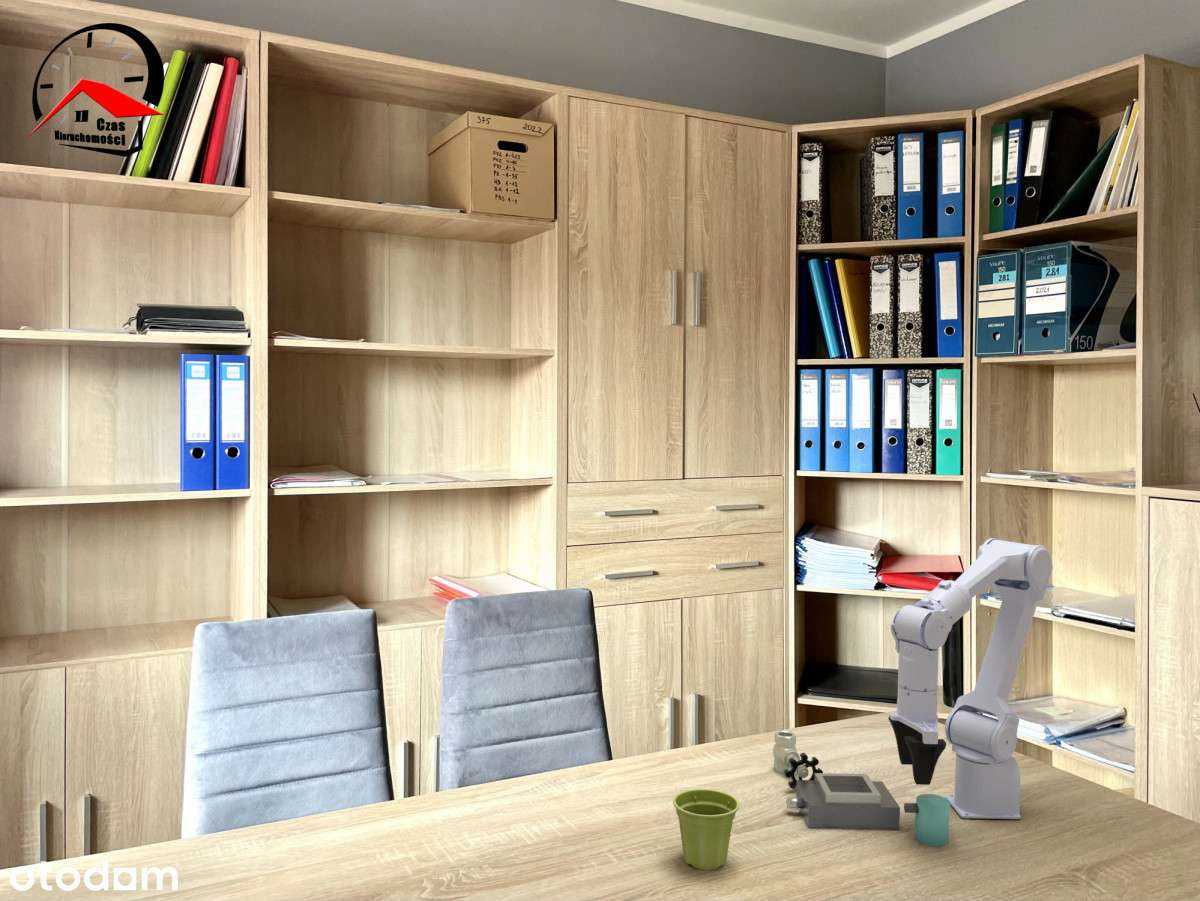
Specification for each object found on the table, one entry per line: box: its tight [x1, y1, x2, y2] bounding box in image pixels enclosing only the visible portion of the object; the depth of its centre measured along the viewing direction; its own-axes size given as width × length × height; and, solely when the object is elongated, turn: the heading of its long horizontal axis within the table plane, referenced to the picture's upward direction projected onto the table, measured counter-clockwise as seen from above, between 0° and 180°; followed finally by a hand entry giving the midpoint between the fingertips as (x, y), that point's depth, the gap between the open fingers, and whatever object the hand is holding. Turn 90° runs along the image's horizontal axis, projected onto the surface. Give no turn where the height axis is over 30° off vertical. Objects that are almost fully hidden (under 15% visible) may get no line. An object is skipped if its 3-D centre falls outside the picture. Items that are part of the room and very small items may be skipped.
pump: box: [903, 793, 951, 848], centre depth 148 cm, size 6×5×6 cm
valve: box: [772, 730, 824, 790], centre depth 170 cm, size 7×7×12 cm
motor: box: [785, 772, 901, 830], centre depth 156 cm, size 16×10×5 cm, turn 89°
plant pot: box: [672, 788, 740, 871], centre depth 140 cm, size 9×9×9 cm
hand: (914, 773), depth 149 cm, fingers open, 7 cm apart
